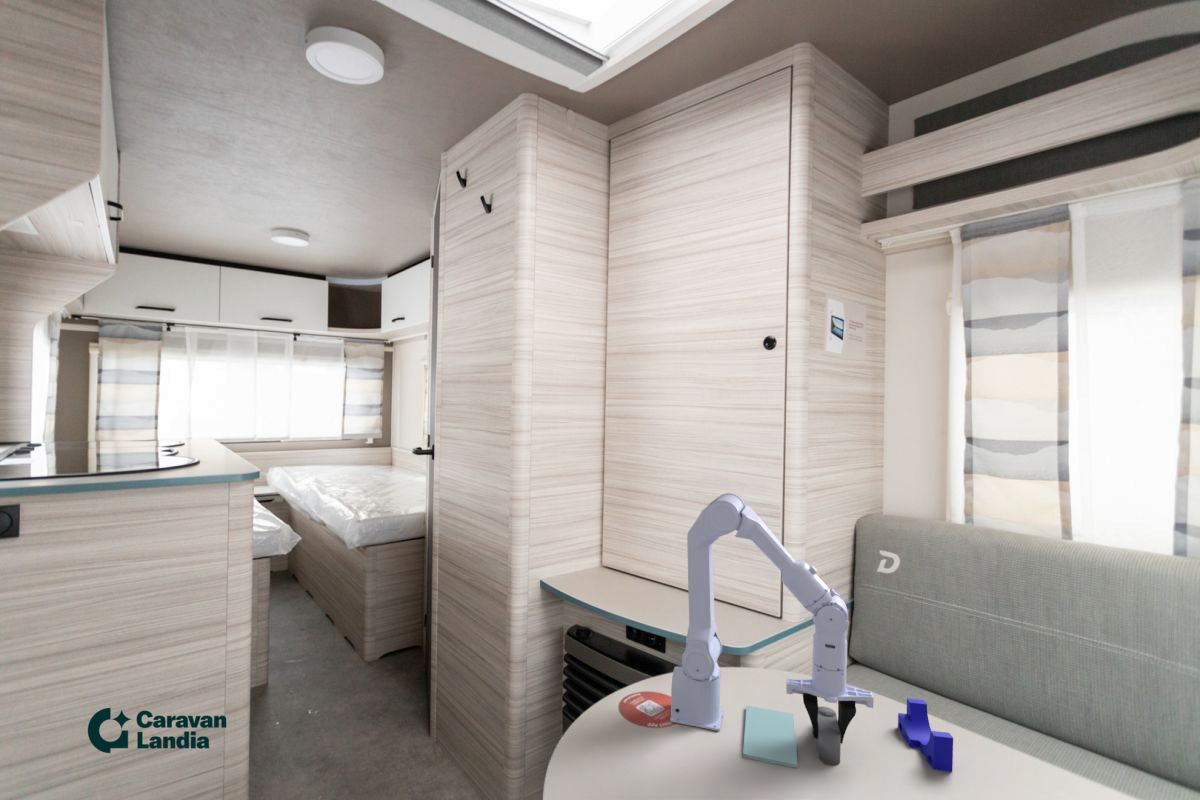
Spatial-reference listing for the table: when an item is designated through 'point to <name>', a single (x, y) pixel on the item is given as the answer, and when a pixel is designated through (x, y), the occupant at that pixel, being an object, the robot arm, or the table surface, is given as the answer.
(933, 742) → the cable clip
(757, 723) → the rubber mat
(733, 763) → the table surface
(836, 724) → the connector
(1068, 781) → the table surface
